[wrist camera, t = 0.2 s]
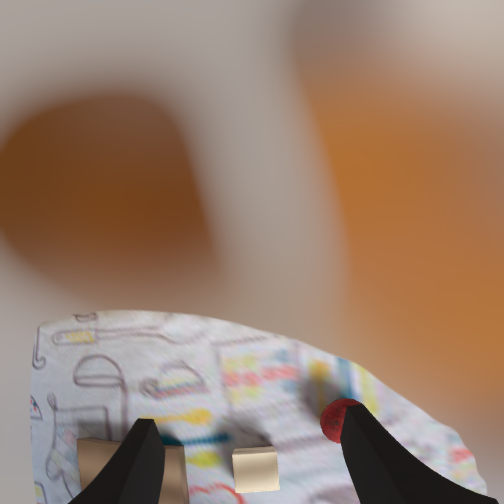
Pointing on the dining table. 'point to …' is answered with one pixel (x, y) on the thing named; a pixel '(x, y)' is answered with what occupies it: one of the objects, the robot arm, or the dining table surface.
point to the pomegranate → (335, 418)
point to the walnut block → (100, 451)
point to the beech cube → (255, 469)
